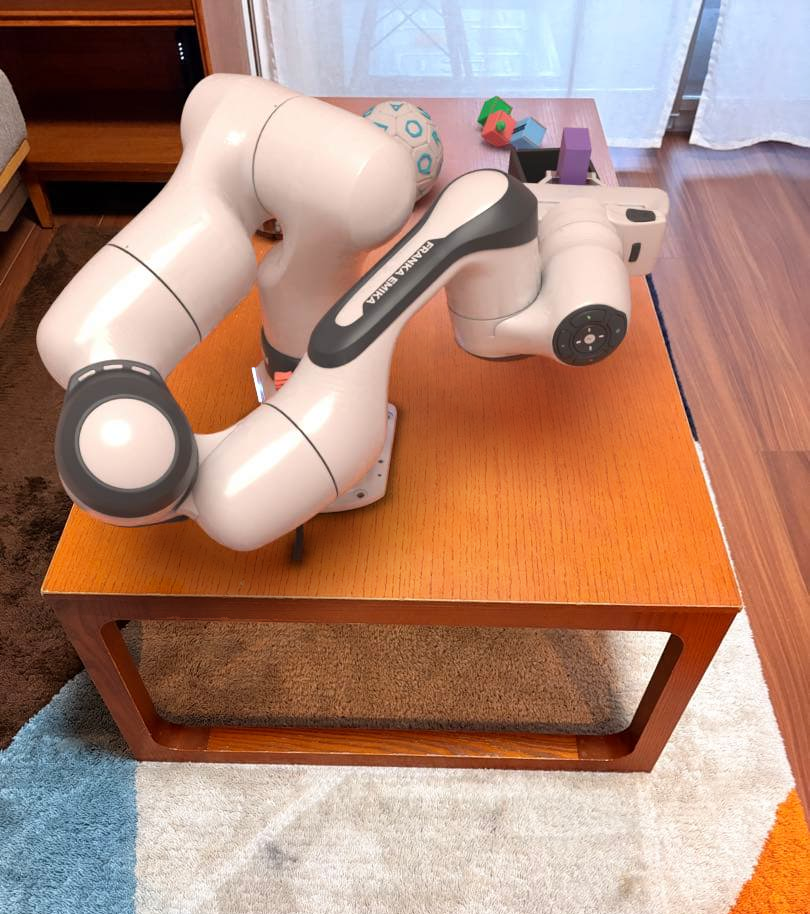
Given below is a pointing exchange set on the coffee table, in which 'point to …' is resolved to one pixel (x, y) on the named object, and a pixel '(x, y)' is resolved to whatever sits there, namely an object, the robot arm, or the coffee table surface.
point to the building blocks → (508, 126)
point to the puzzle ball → (412, 138)
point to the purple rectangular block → (574, 156)
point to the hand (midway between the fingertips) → (569, 177)
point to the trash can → (536, 164)
